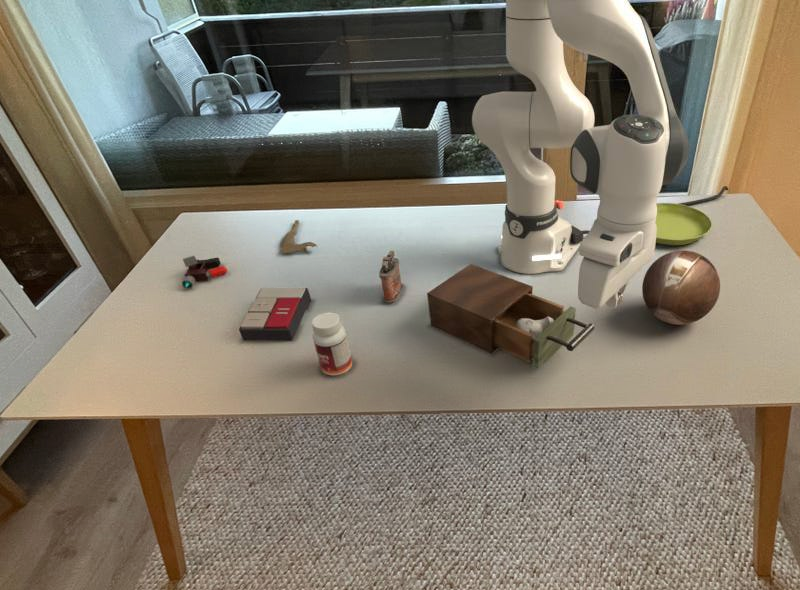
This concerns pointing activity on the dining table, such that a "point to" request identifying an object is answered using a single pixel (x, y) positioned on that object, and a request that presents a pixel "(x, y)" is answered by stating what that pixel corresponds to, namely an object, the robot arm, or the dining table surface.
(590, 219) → the dining table surface
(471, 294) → the cabinet
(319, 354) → the pill bottle
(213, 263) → the toy gun
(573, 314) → the drawer
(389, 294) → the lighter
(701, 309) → the wooden sphere
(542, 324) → the white mannequin head
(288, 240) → the jawbone
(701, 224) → the saucer
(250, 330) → the calculator
